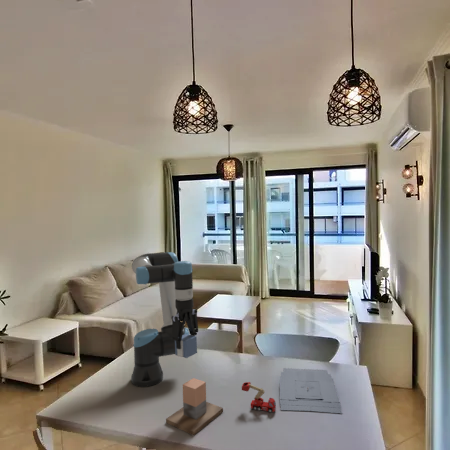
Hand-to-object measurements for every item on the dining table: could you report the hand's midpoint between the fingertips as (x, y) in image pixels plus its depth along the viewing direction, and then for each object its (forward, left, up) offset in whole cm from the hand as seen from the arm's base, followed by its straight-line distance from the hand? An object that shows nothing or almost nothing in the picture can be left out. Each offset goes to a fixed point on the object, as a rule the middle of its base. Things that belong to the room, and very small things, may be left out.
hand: (186, 353), depth 147 cm
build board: (+9, -6, -22) cm, 24 cm away
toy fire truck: (+27, +13, -22) cm, 37 cm away
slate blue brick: (0, 0, 0) cm, 0 cm away
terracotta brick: (+9, -6, -15) cm, 18 cm away
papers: (+39, +35, -22) cm, 57 cm away
